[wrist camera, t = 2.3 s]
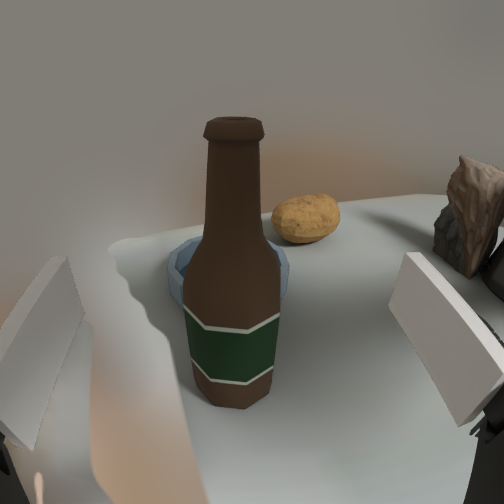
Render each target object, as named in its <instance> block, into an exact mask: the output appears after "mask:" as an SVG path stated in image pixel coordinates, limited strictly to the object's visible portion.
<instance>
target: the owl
mask: <svg viewBox="0 0 504 504" xmlns="http://www.w3.org/2000/svg"><path fill="white" fill-rule="evenodd" d="M459 161H460V165H459V167H458V168H457V169H456V171H455V172H454V173H453V174H452V175H451V179H450V181H449V183H448V189H447V191H446V192H447V196H448V200H449V204H448V205H447V206H446V207H445V208H444V209H442V210H441V214H440V216H439V217H438V218H437V220H436V221H435V223H434V227H435V235H434V244H435V245H434V248H433V251H434V252H435V253H436V254H437V255H439V256H441V257H442V258H443V259H444V260H445V261H446V262H448V263H449V264H450V265H452V266H453V267H454V268H455V269H456V270H457V271H458V272H460V273H462V274H463V275H464V276H465V277H467V278H468V279H471V277H473V275H474V274H476V273H477V271H479V270H480V269H481V267H483V266H484V265H485V263H486V261H487V260H488V259H489V257H490V255H491V253H492V251H493V250H494V248H495V245H496V242H497V237H498V227H499V225H500V223H501V222H502V220H503V218H504V171H502V170H500V169H499V168H497V167H495V166H494V165H490V164H483V163H480V162H477V161H474V160H472V159H471V158H468V157H466V156H463V155H461V156H460V157H459Z"/></svg>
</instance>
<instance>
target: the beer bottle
mask: <svg viewBox="0 0 504 504" xmlns="http://www.w3.org/2000/svg"><path fill="white" fill-rule="evenodd" d="M203 137H204V138H206V139H207V140H208V141H209V143H208V145H209V146H208V162H207V183H206V208H205V209H206V210H205V224H204V231H203V238H202V240H201V241H200V243H199V244H198V246H197V247H196V250H195V252H194V254H193V256H192V258H191V260H190V262H189V264H188V267H187V270H186V274H185V277H184V280H183V306H184V314H185V321H186V328H187V335H188V342H189V348H190V355H191V361H192V367H193V373H194V377H195V381H196V384H197V386H198V388H199V389H200V390H201V391H202V392H203V393H204V395H205V396H206V397H207V398H208V399H209V400H210V401H211V403H212V404H213V405H214V406H219V407H227V408H236V409H246V408H247V407H249V406H251V405H252V404H254V403H255V402H257V401H258V400H260V399H261V398H263V397H264V396H266V395H267V394H268V393H269V390H270V386H271V381H272V373H273V366H274V358H275V350H276V342H277V334H278V325H279V317H280V291H281V268H280V265H279V262H278V259H277V255H276V252H275V251H274V249H273V248H272V247H271V245H270V244H269V242H268V241H267V239H266V238H265V236H264V235H263V228H262V221H261V207H260V206H261V205H260V159H259V158H260V155H259V141H260V140H261V139H263V137H264V130H263V126H262V122H261V121H260V120H258V119H256V118H248V117H217V118H215V119H213V120H210V121H208V122H207V125H206V128H205V131H204V135H203Z"/></svg>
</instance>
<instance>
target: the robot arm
mask: <svg viewBox="0 0 504 504" xmlns="http://www.w3.org/2000/svg"><path fill="white" fill-rule="evenodd" d="M482 276H483V279H484V281H485V283H486V284H487V286H488V287H489V288H490V289H491V290H492V291H493V292H494V293H495V294H496V295H497V296H498V297H499V298H501V299H502V300H504V238H503V240H502V242H501V243H500V245H499V246H498V247H497V249H496V250H495V251H494V253H493V254H492V255H491V256H490V258H489V259H488V260H487V262H486V264H485V267H484V269H483V272H482ZM388 307H389V309H390V310H391V312H392V314H393V315H394V317H395V318H396V320H397V321H398V323H399V324H400V326H401V328H402V329H403V331H404V332H405V334H406V336H407V337H408V339H409V341H410V342H411V344H412V346H413V347H414V349H415V350H416V352H417V354H418V355H419V357H420V359H421V361H422V362H423V364H424V366H425V367H426V369H427V371H428V373H429V374H430V376H431V378H432V380H433V381H434V383H435V385H436V387H437V389H438V390H439V392H440V394H441V396H442V398H443V399H444V401H445V403H446V405H447V407H448V409H449V411H450V413H451V414H452V416H453V418H454V420H455V422H456V424H457V426H458V427H460V426H462V425H464V424H467V423H469V422H471V421H473V420H474V419H475V418H476V417H477V416H478V415H479V413H480V412H481V411H482V410H483V411H484V413H485V416H484V417H483V418H482V419H481V420H480V421H479V422H478V423H477V425H476V426H475V427H474V428H473V429H472V430H471V432H470V434H469V435H473V434H474V433H475V432H476V431H477V430H478V429H479V428H480V431H479V432H478V433H477V434H476V435H475V437H478V443H477V449H476V454H475V459H474V464H473V469H472V473H471V477H470V481H469V485H468V489H467V492H466V496H465V499H464V503H463V504H504V343H503V341H502V340H500V338H499V336H498V335H497V334H496V333H494V330H493V329H492V328H491V326H490V325H489V324H488V323H487V322H486V321H485V320H484V319H483V318H481V317H480V316H479V315H477V314H476V313H475V312H474V311H473V310H472V309H471V307H470V306H469V305H468V304H467V303H466V302H465V300H464V299H463V298H462V297H461V296H460V295H459V294H458V292H457V291H456V290H455V289H454V288H453V287H452V286H451V285H450V284H449V283H448V281H447V280H446V279H445V278H444V277H443V276H442V275H441V274H440V273H439V272H438V271H437V270H436V269H435V268H434V267H433V265H432V264H431V263H430V262H429V261H428V260H427V259H426V258H425V257H424V256H423V255H422V254H421V253H420V252H405V254H404V258H403V261H402V264H401V268H400V271H399V274H398V277H397V280H396V283H395V286H394V289H393V292H392V295H391V298H390V301H389V304H388ZM83 316H84V310H83V307H82V304H81V301H80V298H79V295H78V292H77V289H76V286H75V282H74V279H73V275H72V272H71V268H70V265H69V261H68V257H51V258H50V259H49V260H48V262H47V263H46V264H45V265H44V267H43V268H42V269H41V271H40V272H39V273H38V275H37V276H36V278H35V279H34V280H33V281H32V283H31V284H30V285H29V287H28V288H27V290H26V291H25V293H24V294H23V295H22V297H21V298H20V300H19V301H18V302H17V304H16V305H15V307H14V309H13V310H12V311H11V313H10V314H9V316H8V317H7V319H6V321H5V322H4V323H3V325H2V327H1V328H0V504H30V503H29V501H28V498H27V496H26V494H25V492H24V490H23V487H22V485H21V483H20V481H19V478H18V476H17V473H16V471H15V468H14V466H13V463H12V460H11V458H10V455H9V452H8V450H7V448H6V446H5V445H4V444H3V442H4V438H5V437H6V438H7V439H8V440H9V441H10V442H11V443H12V444H13V445H14V446H16V447H19V448H22V449H25V450H28V451H31V452H33V450H34V447H35V443H36V440H37V436H38V433H39V430H40V426H41V423H42V420H43V417H44V414H45V411H46V408H47V405H48V402H49V399H50V396H51V394H52V391H53V388H54V385H55V383H56V380H57V377H58V375H59V372H60V370H61V367H62V365H63V362H64V360H65V357H66V355H67V352H68V350H69V347H70V345H71V343H72V340H73V338H74V336H75V334H76V331H77V329H78V327H79V325H80V322H81V320H82V318H83Z"/></svg>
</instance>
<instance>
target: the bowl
mask: <svg viewBox="0 0 504 504" xmlns="http://www.w3.org/2000/svg"><path fill="white" fill-rule="evenodd" d="M202 238H203V236H200V237H196V238H193V239H189V240H187V241H186V242H184V243H183V244H182V245H180V246H179V247H178V248H176V249H175V250H174V251H172V252H171V254H170V258H169V262H168V266H167V273H168V280H169V287H170V293H171V295H172V296H173V298H174V299H175V300H176V302H177V303H178V304H179V306H180V307H181V308H182V310H183V311H184V306H183V280H184V277H185V274H186V270H187V267H188V264H189V262H190V260H191V258H192V256H193V254H194V252H195V250H196V247H197V246H198V244H199V243H200V241H201V240H202ZM267 241H268V242H269V244H270V245H271V247H272V248H273V249H274V251H275V252H276V255H277V259H278V262H279V265H280V268H281V291H280V301H281V299H282V297H283V296H284V294H285V293H286V291H287V282H288V274H289V263H288V261H287V258H286V255H285V252H284V250H283V249H281V248H280V247H278V246H277V245H275V244H273V243H272V242H270V241H269V240H267Z"/></svg>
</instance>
